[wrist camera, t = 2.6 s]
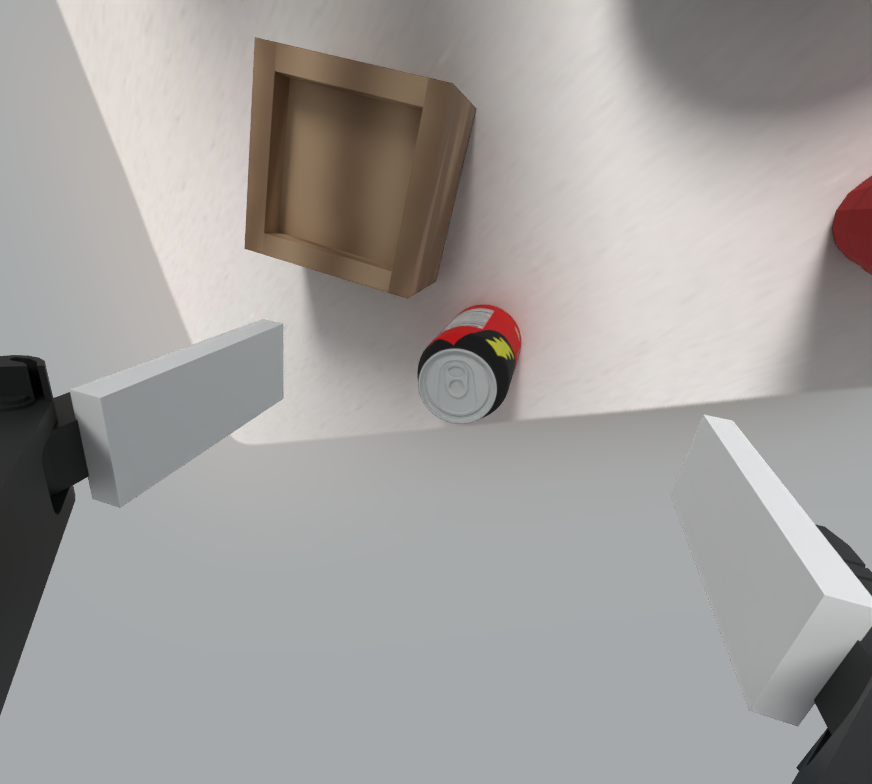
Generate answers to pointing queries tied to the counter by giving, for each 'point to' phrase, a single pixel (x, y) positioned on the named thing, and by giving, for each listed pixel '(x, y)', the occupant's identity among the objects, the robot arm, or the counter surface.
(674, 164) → the counter surface
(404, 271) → the brown open box
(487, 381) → the beverage can
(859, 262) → the plastic cup
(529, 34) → the counter surface
